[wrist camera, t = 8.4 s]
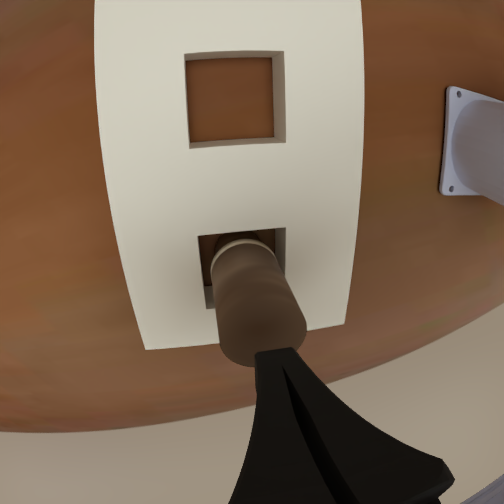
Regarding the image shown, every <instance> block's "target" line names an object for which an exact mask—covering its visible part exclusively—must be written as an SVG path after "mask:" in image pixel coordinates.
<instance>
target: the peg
mask: <svg viewBox="0 0 504 504" xmlns="http://www.w3.org/2000/svg"><path fill="white" fill-rule="evenodd" d="M215 254H216V255H215V256H214V258H213V260H212V263H211V268H210V273H211V281H212V287H213V295H214V304H215V312H216V320H217V328H218V335H219V342H220V347H221V349H222V351H223V353H224V354H225V355H226V357H228V358H229V359H230V360H231V361H233V362H235V363H237V364H240V365H243V366H247V367H255V359H254V355H255V354H256V353H257V352H261V351H268V350H274V349H281V348H287V347H292V348H294V349H295V351H297V349H298V348H299V347H300V346H301V344H302V343H303V341H304V339H305V336H306V332H307V323H306V320H305V317H304V315H303V313H302V311H301V309H300V307H299V305H298V303H297V301H296V299H295V297H294V295H293V293H292V290H291V288H290V286H289V284H288V282H287V280H286V278H285V276H284V274H283V272H282V270H281V268H280V266H279V264H278V261H277V259H276V257H275V255H274V253H273V252H272V250H271V249H270V248H269V247H268V246H267V245H265V244H264V243H262V242H260V241H259V239H258V237H257V236H256V235H255V234H254V233H253V232H252V231H240V232H229V233H224V234H222V235H221V236H220V238H219V239H218V241H217V243H216V247H215Z"/></svg>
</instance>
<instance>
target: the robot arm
mask: <svg viewBox="0 0 504 504" xmlns="http://www.w3.org/2000/svg"><path fill="white" fill-rule="evenodd" d="M457 92H458V96H457ZM450 186H451V188H450ZM449 188H450V190H449ZM439 191H440V193H441V194H443V195H483V196H485V197H487V198H489V199H491V200H493V201H495V202H497V203H499V204H501V205H503V206H504V102H503V101H500V100H497V99H494V98H491V97H488V96H485V95H482V94H479V93H476V92H472V91H469V90H466V89H462V88H458V87H455V86H449V87H448V88H447V91H446V121H445V138H444V150H443V161H442V170H441V179H440V186H439ZM254 359H255V385H256V392H257V400H256V408H255V415H254V422H253V428H252V432H251V437H250V441H249V446H248V449H247V452H246V456H245V460H244V463H243V466H242V469H241V472H240V476H239V478H238V481H237V483H236V486H235V489H234V491H233V494H232V496H231V499H230V501H229V503H228V504H441V502H440V501H439V499H438V497H439V496H440V495H442V493H444V492H445V491H446V490H447V489H448V488H450V486H452V485H453V483H454V480H455V478H454V477H453V475H452V473H451V471H450V470H449V468H448V467H447V465H446V464H445V463H444V461H443V460H442V459H440V458H437V457H435V456H432V455H429V454H427V453H424V452H422V451H419V450H417V449H415V448H413V447H411V446H408V445H406V444H404V443H402V442H400V441H399V440H397V439H395V438H393V437H392V436H390V435H388V434H386V433H384V432H383V431H381V430H380V429H378V428H376V427H375V426H373V425H372V424H371V423H369V422H368V421H366V420H365V419H364V418H362V417H361V416H360V415H358V414H357V413H356V412H354V411H353V410H352V409H351V408H349V407H348V406H347V405H346V404H345V403H344V402H342V401H341V400H340V399H339V398H338V397H337V396H336V395H335V394H334V393H333V392H332V391H331V390H330V389H329V388H328V387H327V386H326V385H325V384H324V383H323V382H322V381H321V380H320V379H319V378H318V377H317V376H316V375H315V374H314V372H313V371H312V370H311V369H310V368H309V367H308V366H307V364H306V363H305V362H304V361H303V360H302V358H301V357H300V356H299V354H298V353H297V352H296V351H295V349H294V348H292V347H287V348H281V349H274V350H268V351H261V352H257V353H256V354H255V355H254ZM460 504H504V474H503V475H502V476H500V477H499V478H498V479H496V480H495V481H493V482H492V483H491V484H489V485H488V486H486V487H485V488H483V489H482V490H481V491H479V492H478V493H476V494H475V495H473V496H471V497H470V498H468V499H467V500H465V501H464V502H462V503H460Z"/></svg>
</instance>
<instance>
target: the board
mask: <svg viewBox="0 0 504 504" xmlns="http://www.w3.org/2000/svg"><path fill="white" fill-rule="evenodd" d="M94 53H95V80H96V96H97V110H98V121H99V131H100V140H101V148H102V156H103V164H104V171H105V178H106V184H107V190H108V196H109V202H110V208H111V213H112V219H113V224H114V229H115V234H116V239H117V243H118V248H119V253H120V257H121V261H122V266H123V270H124V274H125V278H126V282H127V286H128V290H129V294H130V298H131V301H132V305H133V309H134V312H135V316H136V319H137V323H138V326H139V330H140V333H141V336H142V340H143V343H144V346H145V349H146V350H149V349H163V348H175V347H186V346H196V345H206V344H215V343H220V342H219V335H218V328H217V320H216V312H215V304H214V295H213V287H212V286H204V280H203V272H202V264H201V255H200V246H199V237H198V236H200V235H209V234H219V233H229V232H240V231H250V230H261V229H271V228H275V257H276V259H277V261H278V264H279V266H280V268H281V270H282V272H283V274H284V276H285V278H286V280H287V282H288V284H289V286H290V288H291V290H292V293H293V295H294V297H295V299H296V301H297V303H298V305H299V307H300V309H301V311H302V313H303V315H304V317H305V320H306V323H307V331H308V330H314V329H319V328H325V327H330V326H336V325H341V324H344V321H345V315H346V309H347V303H348V296H349V290H350V283H351V275H352V268H353V260H354V252H355V243H356V234H357V224H358V214H359V202H360V190H361V175H362V158H363V134H364V53H363V30H362V14H361V1H360V0H95V16H94ZM241 57H272V72H273V110H274V137H270V138H247V139H231V140H217V141H204V142H193V143H190V135H189V120H188V103H187V84H186V61H187V60H199V59H215V58H241Z"/></svg>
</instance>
